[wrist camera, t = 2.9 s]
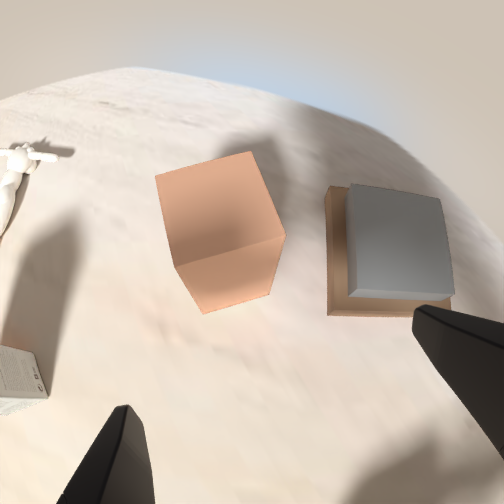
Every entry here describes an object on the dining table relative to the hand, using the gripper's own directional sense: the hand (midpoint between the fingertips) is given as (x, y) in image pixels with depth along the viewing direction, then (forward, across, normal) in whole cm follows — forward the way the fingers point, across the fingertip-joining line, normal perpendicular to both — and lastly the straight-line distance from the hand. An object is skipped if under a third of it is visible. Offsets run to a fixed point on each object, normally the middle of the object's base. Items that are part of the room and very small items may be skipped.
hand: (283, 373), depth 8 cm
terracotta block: (+15, 0, +4) cm, 16 cm away
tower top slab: (+12, -13, +4) cm, 18 cm away
